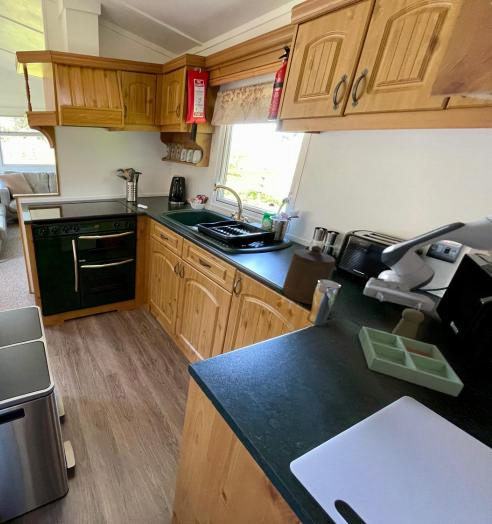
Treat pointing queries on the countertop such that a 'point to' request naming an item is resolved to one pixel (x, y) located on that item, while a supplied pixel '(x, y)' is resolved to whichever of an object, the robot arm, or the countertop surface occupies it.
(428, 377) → the compartment tray
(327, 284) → the beer glass
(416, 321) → the cork
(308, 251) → the wooden container
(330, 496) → the countertop surface
